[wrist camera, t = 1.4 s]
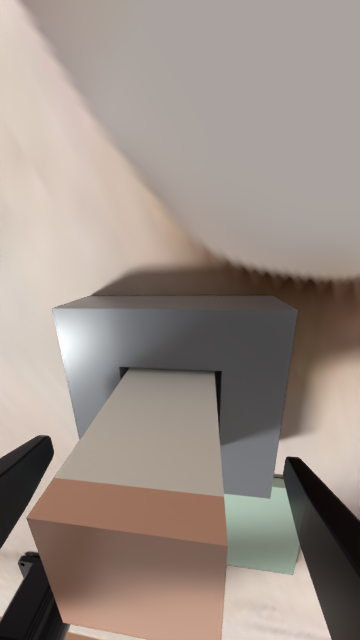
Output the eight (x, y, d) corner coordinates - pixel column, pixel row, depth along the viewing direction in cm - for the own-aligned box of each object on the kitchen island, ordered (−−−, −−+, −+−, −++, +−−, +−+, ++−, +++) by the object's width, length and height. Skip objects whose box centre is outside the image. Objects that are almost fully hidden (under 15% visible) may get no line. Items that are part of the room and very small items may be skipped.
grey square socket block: (256, 447, 13) (270, 498, 11) (110, 435, 15) (87, 478, 12) (273, 295, 11) (298, 310, 8) (89, 295, 12) (51, 308, 9)
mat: (289, 563, 16) (293, 575, 16) (177, 547, 17) (176, 557, 17) (307, 481, 14) (312, 491, 13) (174, 467, 15) (172, 476, 14)
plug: (211, 412, 12) (220, 654, 5) (146, 407, 13) (63, 622, 5) (212, 351, 11) (227, 545, 4) (142, 349, 12) (26, 517, 4)
